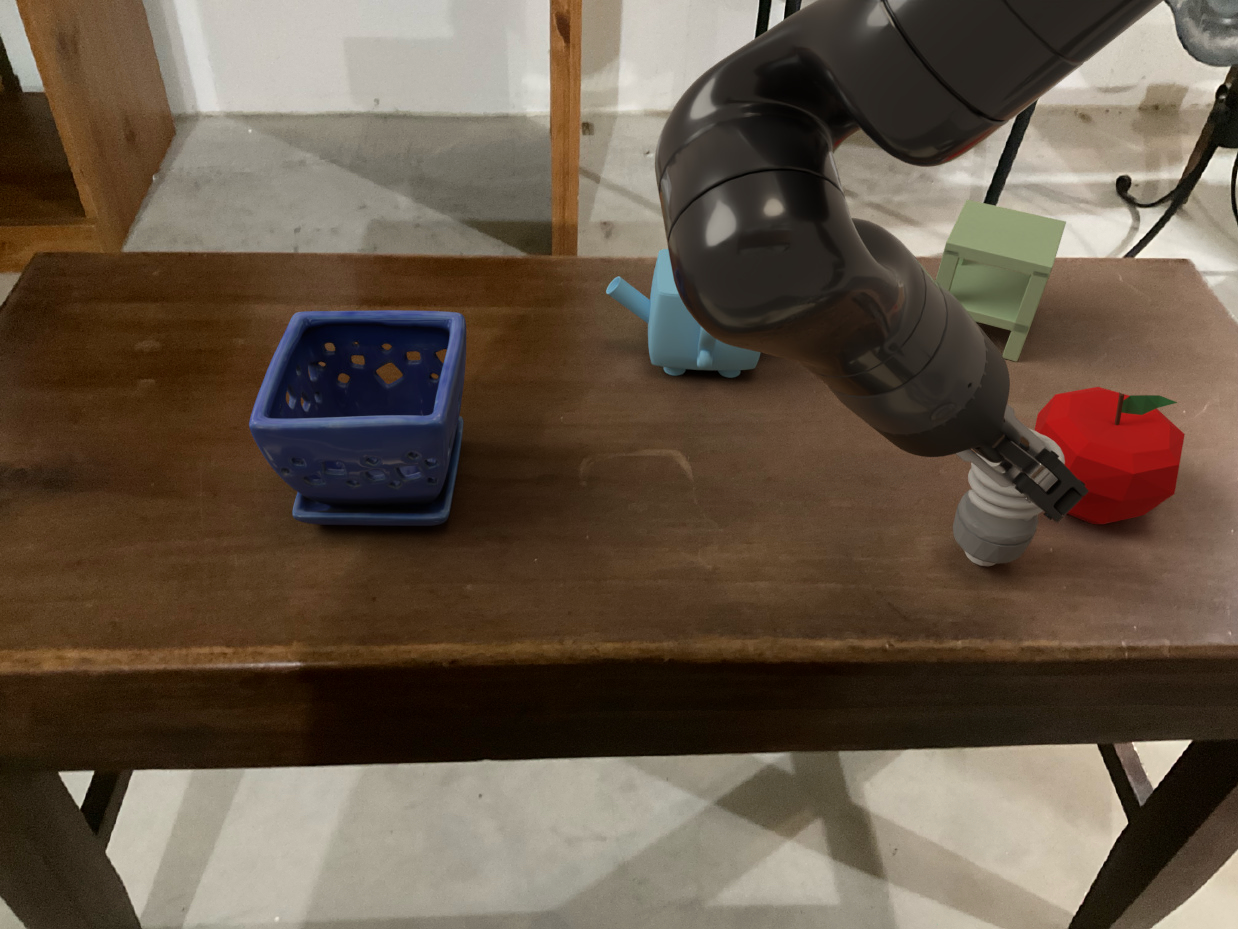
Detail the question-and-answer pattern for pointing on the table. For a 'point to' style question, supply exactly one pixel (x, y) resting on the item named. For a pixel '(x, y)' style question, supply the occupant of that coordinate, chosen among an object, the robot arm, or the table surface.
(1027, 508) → the light bulb
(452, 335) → the flower pot
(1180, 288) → the table surface
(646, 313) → the teapot
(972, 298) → the green side table
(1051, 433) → the apple
